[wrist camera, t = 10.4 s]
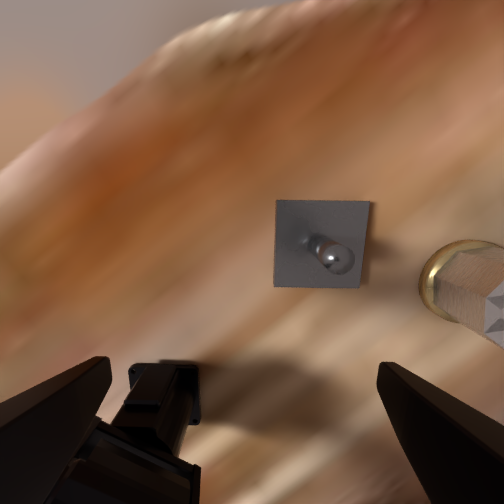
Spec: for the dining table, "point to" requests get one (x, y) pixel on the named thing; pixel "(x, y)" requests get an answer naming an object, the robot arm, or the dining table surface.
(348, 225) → the stand
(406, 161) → the dining table surface
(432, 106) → the dining table surface
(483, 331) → the collar
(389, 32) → the dining table surface
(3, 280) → the dining table surface
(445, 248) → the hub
